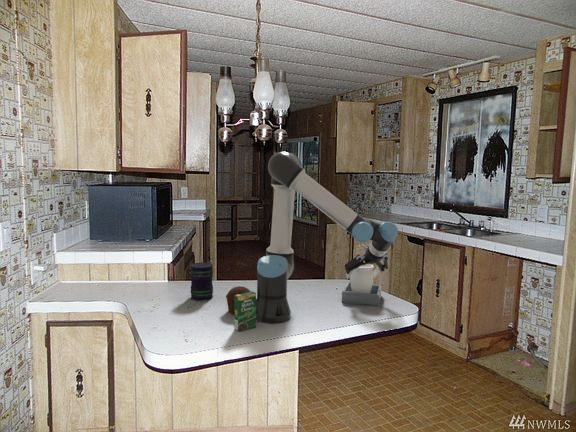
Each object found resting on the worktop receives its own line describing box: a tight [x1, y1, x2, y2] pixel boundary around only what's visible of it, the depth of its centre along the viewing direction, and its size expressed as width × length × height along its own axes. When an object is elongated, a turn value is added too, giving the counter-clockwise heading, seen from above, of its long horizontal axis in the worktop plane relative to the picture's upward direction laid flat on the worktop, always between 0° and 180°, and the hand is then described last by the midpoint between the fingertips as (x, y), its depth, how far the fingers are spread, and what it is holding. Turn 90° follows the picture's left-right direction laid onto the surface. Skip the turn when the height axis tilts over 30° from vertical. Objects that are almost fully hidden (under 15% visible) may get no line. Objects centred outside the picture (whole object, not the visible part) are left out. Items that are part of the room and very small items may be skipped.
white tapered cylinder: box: [349, 264, 375, 294], centre depth 187 cm, size 11×10×15 cm
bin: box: [341, 281, 382, 307], centre depth 187 cm, size 16×16×5 cm
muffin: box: [225, 286, 252, 316], centre depth 166 cm, size 12×11×10 cm
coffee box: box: [233, 290, 257, 332], centre depth 149 cm, size 8×3×13 cm, turn 127°
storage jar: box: [190, 261, 214, 302], centre depth 183 cm, size 10×10×15 cm
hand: (360, 275), depth 188 cm, fingers open, 13 cm apart
